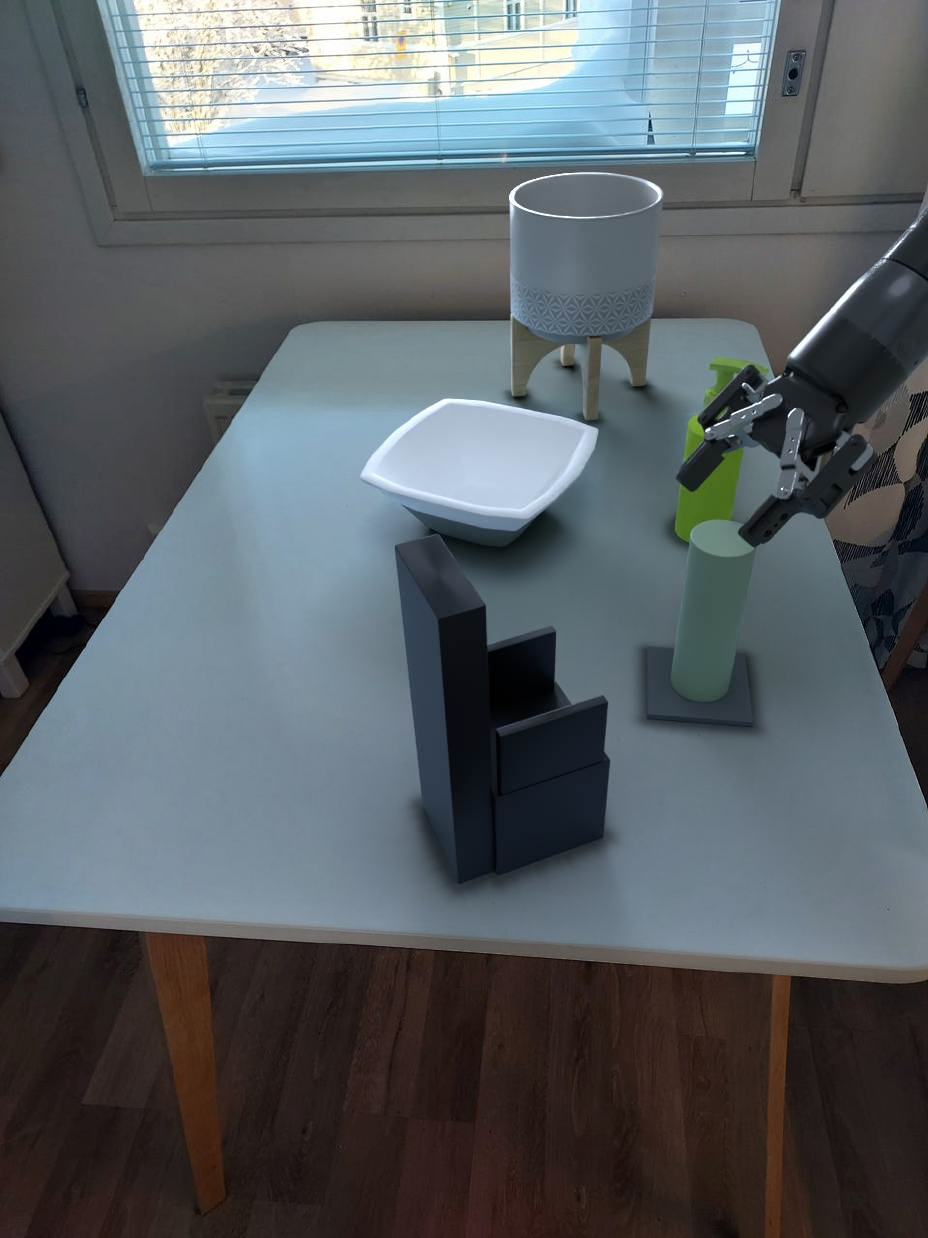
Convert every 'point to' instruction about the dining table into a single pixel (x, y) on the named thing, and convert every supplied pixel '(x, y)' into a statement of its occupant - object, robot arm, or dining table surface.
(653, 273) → the planter
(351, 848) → the dining table surface
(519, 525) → the bowl
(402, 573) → the navy chair block
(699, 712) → the coaster
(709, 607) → the green cylinder
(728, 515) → the soap dispenser
